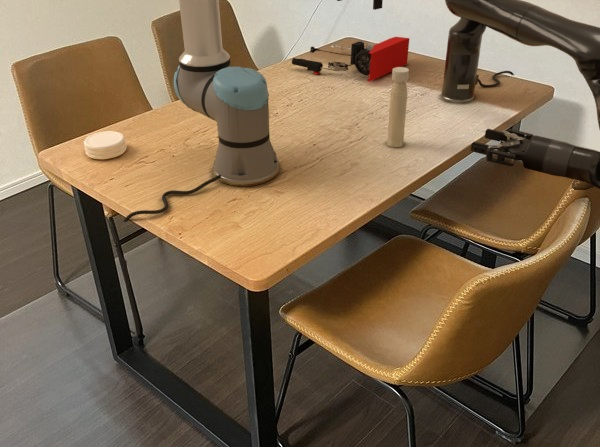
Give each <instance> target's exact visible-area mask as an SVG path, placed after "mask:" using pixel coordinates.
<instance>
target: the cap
mask: <svg viewBox="0 0 600 447" xmlns="http://www.w3.org/2000/svg"><path fill="white" fill-rule="evenodd" d="M409 76H410V68H408V67H405V66H402V67H396V68H393V71H391V80H392V81H393V82H394V81H397V82H408V80H409Z"/></svg>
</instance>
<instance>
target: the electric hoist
mask: <svg viewBox="0 0 600 447" xmlns="http://www.w3.org/2000/svg"><path fill="white" fill-rule="evenodd" d="M409 46H410V38H409V37H402V36H393V37H391V38H388V39H385V40H383V41H381V42H378V43H377V42H368V44H366V45H365V42H363V41H356V42H353V43H351V47H349V46H344V45H341V46H339V45H338V44H333V45H330V47H331V48H333V49H340V50H341V51H343V50H347V51H350V54H347V56H348V57H350V64H347V63H345V62H340V61H334V62H332V61H329V62H327V65H328V66H327V67H324V65H323V63H322V62H321V61H315V60H310V59H305V58H297V57H296V58H295V57H292V59H291V64H292V65H293V66H298V67H302V68H303V67H304V68H306V71H310V72H313V74H314V75H320V74H321V71H322V70H328V71H334V72H341V71H342V72H346V71H348V70H349V67H350V66H354V67H355V69H356V70H357V72H358V73H359V74H362V75H364V76H368V78H367V79H366V81H367V82H372V81H374V80H376V79H378V78H381V77H383V76H385V75H387V74H389V73H392V71H393V68H396V67H405V66H406V65H408V58H409V48H410V47H409ZM316 51H317V52H324V53H325V52H326V53H331V54H336V55H340V56H341V55H342V56H346V54H343V53H338V52H333V51H328V50H322V49H319V48H316V47H315V46H310V48H309V53H312V54H314V53H315V52H316Z"/></svg>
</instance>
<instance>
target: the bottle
mask: <svg viewBox="0 0 600 447" xmlns="http://www.w3.org/2000/svg"><path fill="white" fill-rule="evenodd" d="M407 86H408V85H407V81H405V82H397V81H394V80H393V83H392V87H391V90H390V94H389V95H390V96H389V108H388V109H389V110H388V122H387V123H388V126H387V137H386V138H387V139H386V141H387V142H386V144H387V146H389V147H391V148H400V147H403V146H404V142H405V141H404V140H405V131H406V130H405V128H406V118H407V117H406V116H407V106H408V105H407V104H408V88H407Z"/></svg>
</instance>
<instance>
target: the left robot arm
mask: <svg viewBox="0 0 600 447" xmlns="http://www.w3.org/2000/svg"><path fill="white" fill-rule="evenodd" d="M336 1H337V2H341V1H342V0H336ZM178 3H179V12H180V20H181V30H182V31H181V32H182V38H183V46H184V51H183V52H182V54H180V56H179V57H178V62H179V63H178V64H179V65H178V66H177V69H176V71H175V72H174V75H173V88H174V92H175V95H176V96H177V98H178V100H179V101H180V102H181V103H182V104H183V105H185V106H186V107H187V108H188V109H191V111H193V112H196V113H199V114H200V115H202V116H205V117H207V118H209V119H210V120H212V121H215V122H216V126H217V135H218V145H217V149H216V153H215V159H214V162H213V167H212V168H213V176H214V177H212V178H211V179H208V180H207V181H204V182H203V183H200V185H198V186H197V187H195V188H192V189H190V190H176V189H175V190H168V191H165V192H164V193H163V194H162V195H161V200H162V202H163V205H164V207H162V208H160V209H153V210H152V209H150V210H148V209H146V210H144V209H143V210H135V211H132V212H131V213H129V214H128V215H127V216H126V217H125V218H124V220H123V223H127V222H128V221H129V220H130V219H131V218H133V217H135V216H137V215H159V214H162V213H164V212H166V211H167V210H168V208H169V202H168V200H167V199H166V197H167V196H169V195H185V196H186V195H191V194H194V193H196V192H199V191H200V190H202V189H203V188H205V187H207V186H208V185H210V184H213V183H214V182H216V181H219V182H220V183H223V184H225V185H228V186H229V185H230V186H234V187H251V186H252V187H253V186H257V185H261V184H265V183H267V182H269V181H271V180H273V179H274V178H275V177H276V176H277V175H278V174H279V171H280V166H279V164H280V163H279V160H278V156H277V153H276V150H275V149H274V146H273V144H272V142H271V138H270V136H271V135H270V134H271V133H270V110H269V109H270V108H269V106H270V105H269V98H270V94H269V89H268V83H267V79H266V77H265V76H264V75H263V74H262V73H261V72H260V71H258V70H256V69H253V68H250V67H242V66H232V65H231V55H230V54H229V53H228V52H227V50H225V49H224V48H223V37H222V26H221V14H220V13H221V11H220V0H178ZM380 9H383V0H373V2H372V10H374V11H376V10H380ZM127 263H128V262H127V260H126V259H125V258H124V257H122V268H123V269H122V270H123V276H124V277H123V278H124V282H125V287H126V292H127V296H128V300H129V306H130V310H131V313H132V317H133V323H134V327H135V334H136V336H140V335H141V331H140V326H139V325H140V324H139V321H138V320H139V319H138V315H137V311H136V306H135V303H134V298H133V294H132V290H131V289H132V288H131V284H130V279H129V272H128V264H127Z"/></svg>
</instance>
